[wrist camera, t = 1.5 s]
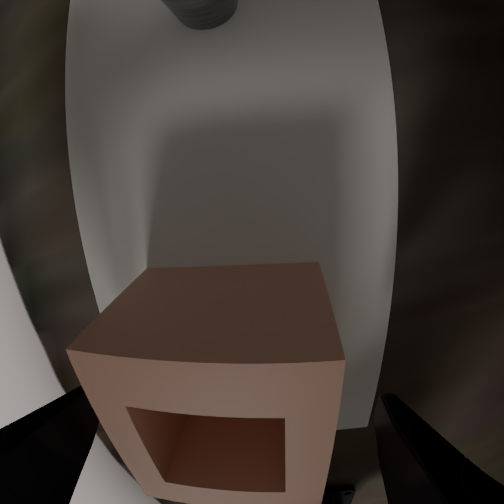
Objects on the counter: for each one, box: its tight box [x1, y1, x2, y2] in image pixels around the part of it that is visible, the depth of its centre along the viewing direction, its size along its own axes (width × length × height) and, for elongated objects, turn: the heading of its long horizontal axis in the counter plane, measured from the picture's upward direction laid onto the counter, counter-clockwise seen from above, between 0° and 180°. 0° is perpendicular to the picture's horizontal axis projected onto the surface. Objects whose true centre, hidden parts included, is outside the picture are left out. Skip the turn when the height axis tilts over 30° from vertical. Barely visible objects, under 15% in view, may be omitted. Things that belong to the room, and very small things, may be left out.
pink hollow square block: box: [66, 262, 346, 504], centre depth 9 cm, size 7×6×5 cm
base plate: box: [65, 0, 398, 430], centre depth 10 cm, size 22×11×1 cm, turn 4°
